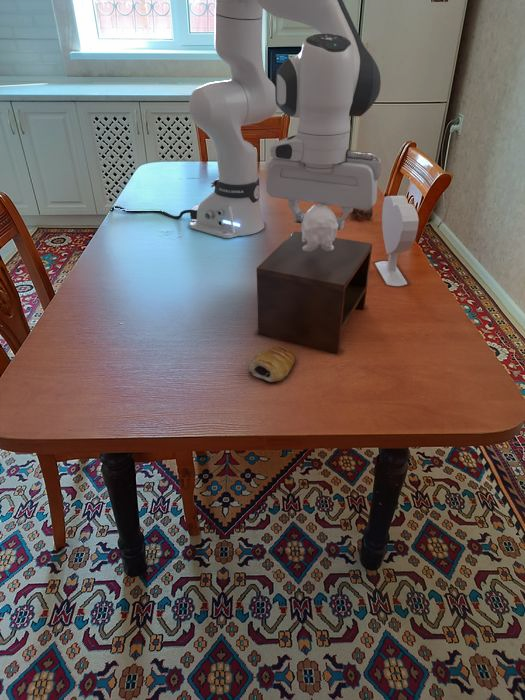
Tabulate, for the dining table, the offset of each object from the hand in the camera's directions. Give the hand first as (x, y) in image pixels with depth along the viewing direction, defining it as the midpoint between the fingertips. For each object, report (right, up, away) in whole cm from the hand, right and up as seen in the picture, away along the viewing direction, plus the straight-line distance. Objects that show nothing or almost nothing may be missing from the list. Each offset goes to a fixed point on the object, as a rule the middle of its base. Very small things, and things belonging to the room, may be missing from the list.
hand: (318, 225), depth 92 cm
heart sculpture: (+21, -5, +29) cm, 37 cm away
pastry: (-9, -27, -1) cm, 29 cm away
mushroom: (+20, +17, +59) cm, 65 cm away
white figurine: (0, -3, +2) cm, 4 cm away
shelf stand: (0, -17, +12) cm, 21 cm away
